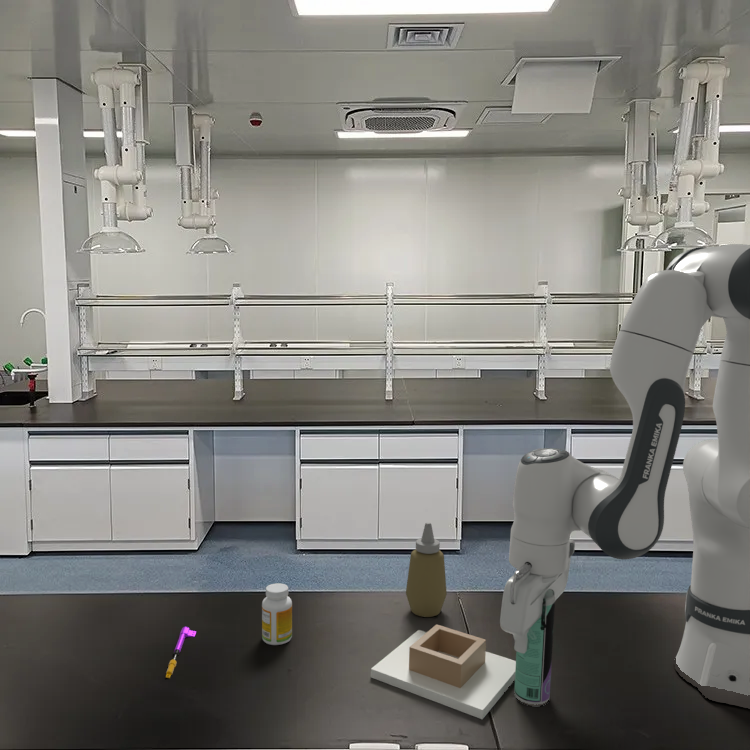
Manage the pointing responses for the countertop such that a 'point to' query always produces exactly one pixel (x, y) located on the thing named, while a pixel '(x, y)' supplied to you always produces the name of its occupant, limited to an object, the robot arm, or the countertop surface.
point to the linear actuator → (179, 648)
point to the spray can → (537, 657)
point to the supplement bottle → (277, 615)
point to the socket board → (448, 670)
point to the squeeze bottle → (426, 576)
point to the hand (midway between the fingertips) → (532, 638)
